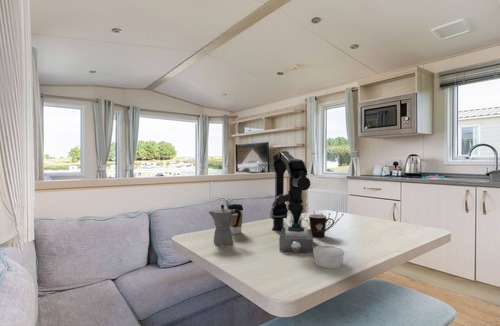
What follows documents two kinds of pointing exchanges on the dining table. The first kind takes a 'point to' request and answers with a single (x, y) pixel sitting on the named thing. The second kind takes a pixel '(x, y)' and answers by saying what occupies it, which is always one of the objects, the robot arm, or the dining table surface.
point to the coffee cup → (234, 217)
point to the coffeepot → (224, 225)
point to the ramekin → (328, 256)
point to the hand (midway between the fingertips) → (295, 222)
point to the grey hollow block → (296, 239)
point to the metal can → (294, 223)
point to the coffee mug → (318, 225)
